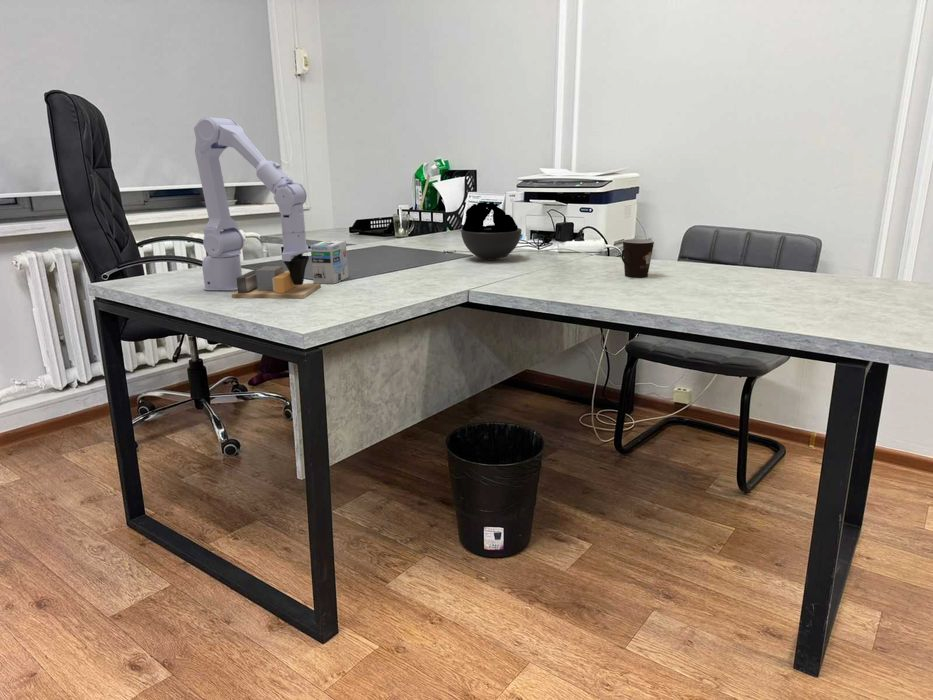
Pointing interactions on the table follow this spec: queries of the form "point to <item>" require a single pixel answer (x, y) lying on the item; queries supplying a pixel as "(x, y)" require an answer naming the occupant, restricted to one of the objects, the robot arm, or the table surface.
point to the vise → (250, 290)
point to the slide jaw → (282, 282)
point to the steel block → (267, 277)
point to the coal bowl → (489, 232)
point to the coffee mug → (637, 257)
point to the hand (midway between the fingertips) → (298, 284)
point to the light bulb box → (329, 262)
